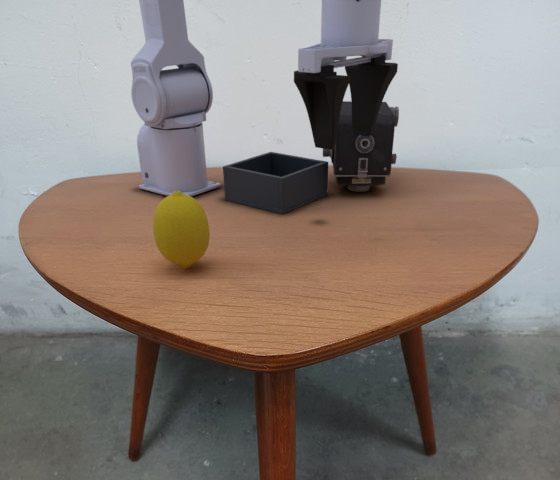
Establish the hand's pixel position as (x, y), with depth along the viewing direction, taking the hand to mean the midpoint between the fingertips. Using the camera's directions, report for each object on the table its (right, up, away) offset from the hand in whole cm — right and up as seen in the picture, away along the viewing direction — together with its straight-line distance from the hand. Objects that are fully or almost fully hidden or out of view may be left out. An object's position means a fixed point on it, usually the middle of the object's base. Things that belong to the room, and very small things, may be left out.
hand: (344, 141), depth 60 cm
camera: (+4, +2, +21) cm, 22 cm away
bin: (-8, -1, +17) cm, 18 cm away
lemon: (-17, -15, -3) cm, 22 cm away
